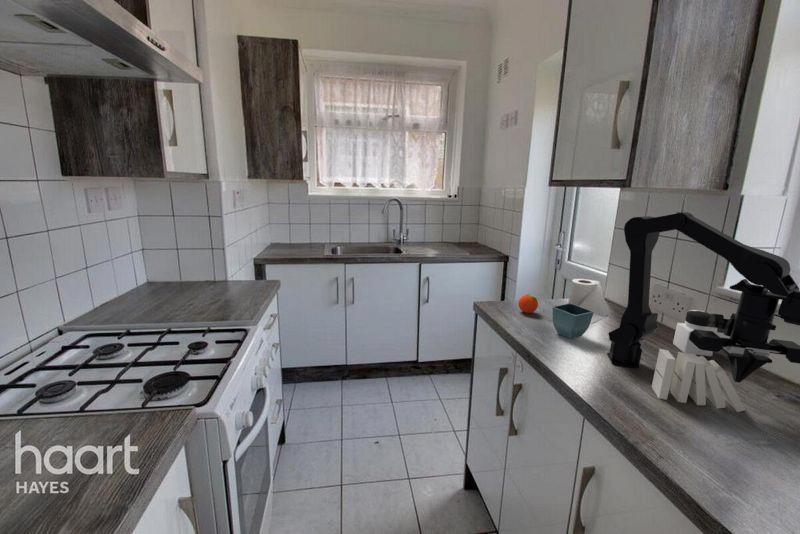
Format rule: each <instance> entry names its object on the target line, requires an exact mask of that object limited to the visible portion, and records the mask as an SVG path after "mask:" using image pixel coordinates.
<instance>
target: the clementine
mask: <svg viewBox="0 0 800 534" xmlns="http://www.w3.org/2000/svg"><path fill="white" fill-rule="evenodd" d="M538 301H540V299H539V298H538V297H537V296H535V295H532V294H524V295H522V296H521V297H520V298H519V300H518V302H517V303H518V308H519V309H520V311H522V312H523V313H525V314H532V313H534V312H536V311H537V309H538V308H539V303H540V304H541V302H538Z"/></svg>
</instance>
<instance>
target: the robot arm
mask: <svg viewBox="0 0 800 534" xmlns="http://www.w3.org/2000/svg"><path fill="white" fill-rule="evenodd" d="M675 230H676V231H678V232H679V233H682V234H683V235H685V236H687V237H688V238H690V239H691V240H693V241H694V242H697V243H698V244H700V245H701V246H704V247H705V248H707V249H708V250H710V251H712V252H713V253H715V254H717V255H719V256H720V257H721V258H724V259H725V260H726V261H727V262H728V263H730V265H731V266H732V267H733V268H734V270H735V271H737V272H738V273H739V274H740V275H741V276H742V277H743V278H744V279H740V281H738V282H737V283H735V284H733V285H730V286H729V289H730V290H733V291H737V292H738V291H739V292H740V297H739V300H738V305H737V308H736V312H735V313H734V312H732V313H731V315H730V318H725V317H724V315H723V314H721V313H720V314H719V313H710V314H711V315H710V318H709V327H711V328H714V329H716V332H715V331H714V330H712V331H705V330H698V329H695V330H693V331H692V332H691V333H690V336H689V340H690V341H691V342H692V343H693V344H694V345H695V346H696V347H698V348H699V349H701V350H706V351H713V353H718V352H720V351H722V352H723V353H724V354H726V356H727V359H728V362H729V366H730V371H731V375H732V380H733V382H735V383H739V384H740V383H742V382H743V381H744V380H745V379H746V378H747V377H749V376H750V375H752V373H754V372H755V371H757V370H758V369H760V368H761V367H763V366H764V365H767V364H772V363H773V360H772V359H771V358H769V357H770V354H775V355H783V356H785V359H787V361H788V362H789V363H791V364H792V363H793V364H800V345H799V344H798V343H796V342H795V341H791V340H784V339H775V338H772V339H771V340H769V341H768V339H769V336H770V333H771V331H776V329H777V325H776V324H775V323H773V322H774V319H775V315H776V312H777V309H778V312H777V315H778V316H779V317H780V319H781V320H783V321H784V323H787V324H789V325H790V324H791V325H795V326H798V327H799V326H800V287H799V286H798V284H797V283H796V281H795V280H794V278H793V277H792V276H791V274H790V273H791V266H790V265H791V264H790V263H789V261H788V260H787V259H786V258H785V257H782V256H780V255H777V254H775V253H771V252H769V251H766V250H763V249H760V248H756V247H753V246H751V245H750V246H749V245H746V244H744V243H742V242H740V241H739V240H737V239H735V238H734V237H732V236H730V235H728V234H726V233H724V232H722V231H721V230H719V229H717V228H715V227H713V226H711V225H710V224H708V223H706V222H704V221H703V220H701V219H699V218H697V217H695V216H694V215H693V214H692V213H690V212H687V211H685V212H684V211H681V212H674V213H671V214H667V215H660V216H656V217H654V216H649V215H648V216H634V217H631V218H630V219H629V220H627V222H625V224H624V227H623V232H624V238H625V243H626V246H627V247H628V250H629V272H628V273H629V274H628V275H629V276H628V289H627V291H628V295H627V306H626V308H625V310H624V312H623V313H622V316H621V321H620V323H619V327H618V328H615V329H613V330H611V331H609V332H608V339H609V341H611V342H610V347H609V351H608V352H607V353H606V355H607V357H608V358H609V360H610V362H611V364H613V365H617V366H622V367H623V366H624V367H629V368H636V369H640V365H639V364H640V363H641V358H642V354H643V349H642V344H641V342H642V341H644V340H645V338H648V337H649V336H651V335H653V334H654V332H655V330H656V329H658V328H659V326H658V324H657V323H658V317H659V316H658V315H659V314H658V312H652V310H651V307H650V292H651V291H650V289H651V271H652V257H653V254H652V253H653V250H654V249H655V248H656V244H657V242H658V240H659V237H660V234H661V233H664V232H670V231H675ZM779 302H780V304H779ZM778 305H779V307H778ZM714 332H715V333H717V334H715V333H714ZM718 333H721V334H723V335H725V336H726V337H727V338H726V337H721V336H719V335H718ZM728 337H729V338H728Z"/></svg>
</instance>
